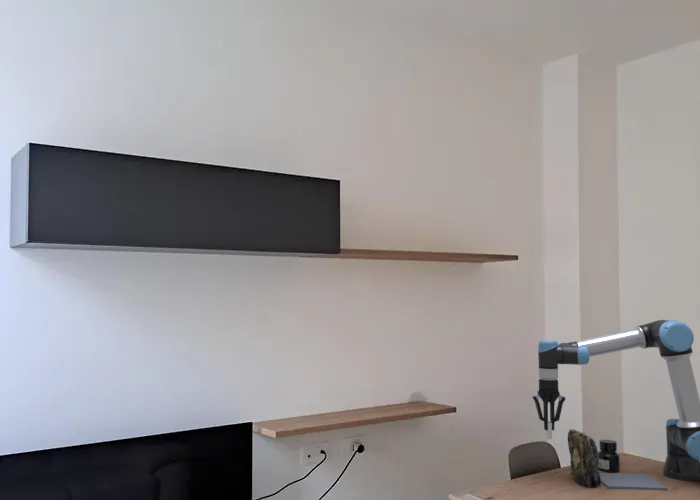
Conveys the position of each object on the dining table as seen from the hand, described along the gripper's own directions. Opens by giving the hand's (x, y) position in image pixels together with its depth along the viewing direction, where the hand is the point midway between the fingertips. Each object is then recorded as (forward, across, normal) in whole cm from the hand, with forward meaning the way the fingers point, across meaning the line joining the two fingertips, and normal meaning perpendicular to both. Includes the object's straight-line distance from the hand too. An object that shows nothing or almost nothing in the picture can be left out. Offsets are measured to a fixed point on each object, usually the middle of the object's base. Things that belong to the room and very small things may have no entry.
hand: (549, 438), depth 254 cm
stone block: (+17, -13, 0) cm, 21 cm away
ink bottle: (+17, -29, -19) cm, 38 cm away
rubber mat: (+16, -31, -1) cm, 35 cm away
